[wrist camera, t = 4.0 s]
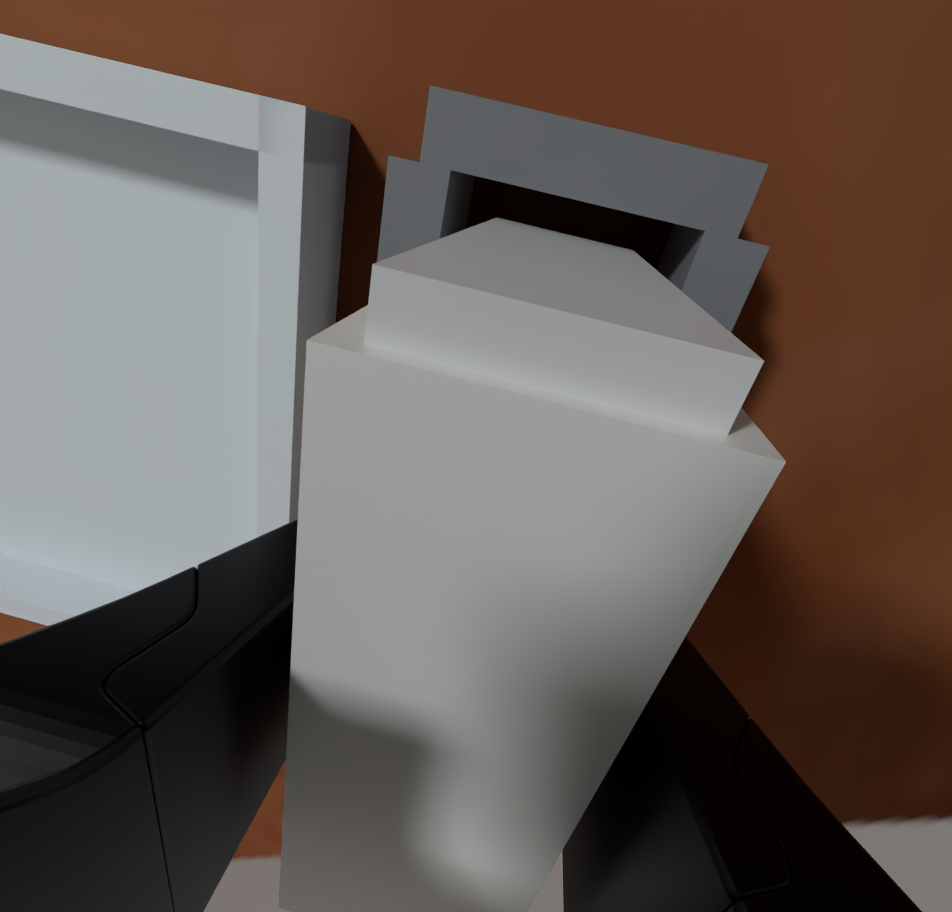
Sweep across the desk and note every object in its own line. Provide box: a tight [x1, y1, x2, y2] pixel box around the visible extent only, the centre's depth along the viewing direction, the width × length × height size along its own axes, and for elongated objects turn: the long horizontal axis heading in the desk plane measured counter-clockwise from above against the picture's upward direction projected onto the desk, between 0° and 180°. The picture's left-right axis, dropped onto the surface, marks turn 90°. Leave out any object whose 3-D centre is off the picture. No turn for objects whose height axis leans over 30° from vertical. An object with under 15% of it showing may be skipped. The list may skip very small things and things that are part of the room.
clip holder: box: [377, 85, 770, 332], centre depth 11 cm, size 6×12×2 cm, turn 168°
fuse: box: [279, 217, 786, 912], centre depth 8 cm, size 3×9×7 cm, turn 168°
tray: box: [0, 34, 351, 626], centre depth 13 cm, size 13×15×2 cm
